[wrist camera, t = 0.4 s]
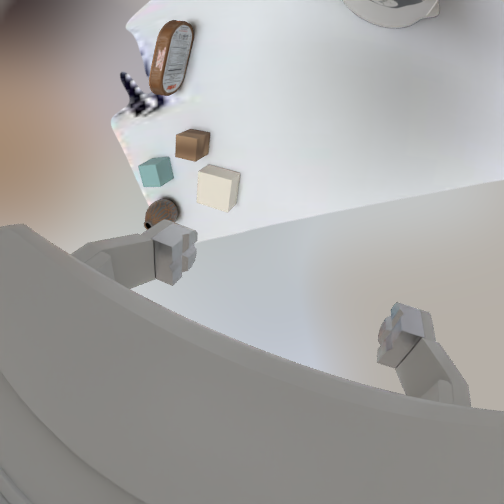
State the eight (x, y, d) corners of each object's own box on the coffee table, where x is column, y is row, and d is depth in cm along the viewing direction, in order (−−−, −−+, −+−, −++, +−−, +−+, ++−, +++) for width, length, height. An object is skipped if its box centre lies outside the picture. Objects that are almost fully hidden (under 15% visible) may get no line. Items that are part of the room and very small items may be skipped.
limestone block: (208, 164, 53) (198, 171, 50) (240, 173, 52) (231, 180, 49) (206, 194, 57) (196, 202, 54) (236, 203, 56) (227, 212, 53)
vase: (169, 224, 66) (149, 243, 60) (154, 201, 64) (131, 219, 58) (187, 214, 63) (165, 234, 56) (170, 190, 60) (147, 207, 54)
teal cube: (152, 158, 57) (138, 166, 53) (169, 156, 55) (155, 164, 51) (157, 178, 60) (143, 186, 56) (173, 177, 58) (160, 186, 54)
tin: (186, 22, 36) (158, 18, 29) (201, 23, 35) (173, 18, 29) (171, 91, 46) (143, 97, 39) (184, 94, 45) (156, 100, 39)
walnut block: (190, 128, 49) (176, 134, 46) (210, 132, 49) (197, 138, 45) (189, 149, 52) (175, 156, 49) (208, 153, 52) (195, 161, 48)
